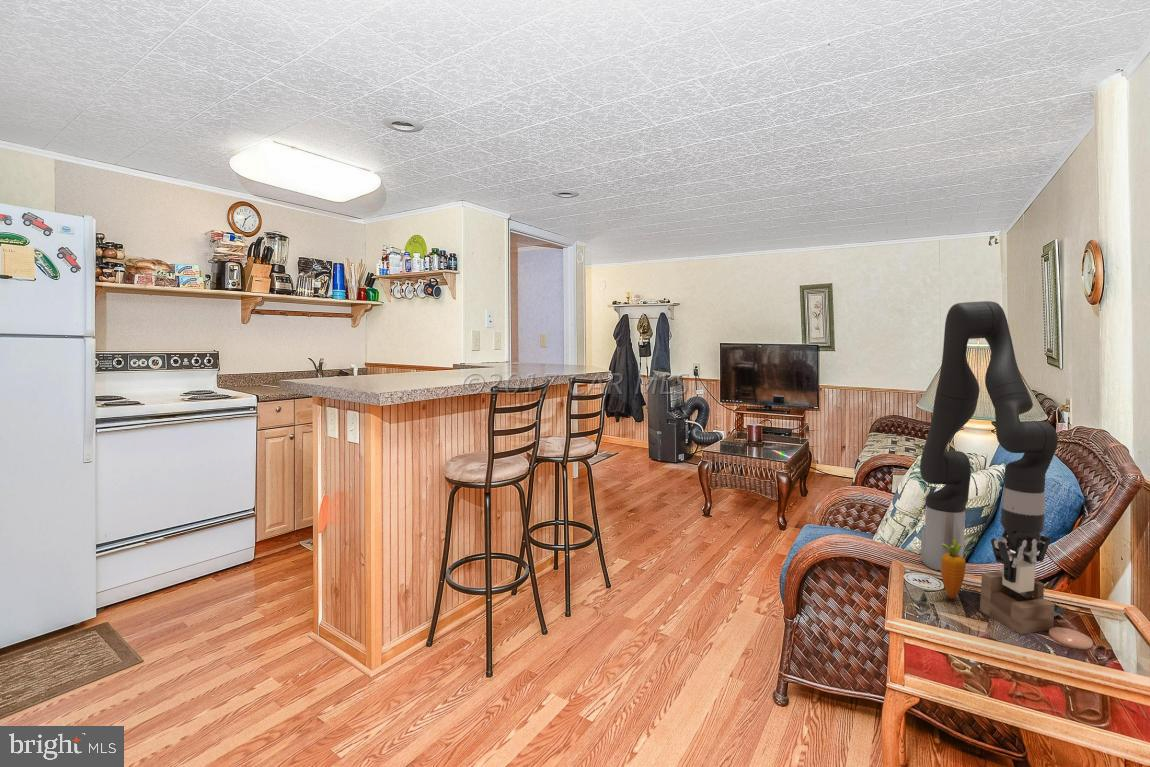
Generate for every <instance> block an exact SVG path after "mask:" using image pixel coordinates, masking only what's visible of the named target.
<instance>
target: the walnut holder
mask: <svg viewBox="0 0 1150 767" xmlns="http://www.w3.org/2000/svg"><path fill="white" fill-rule="evenodd" d="M1002 578H1003V569H1002V570H996V571H995V570H994V571H987V572H981V582H980V585H981V586H980V598H979V599H980V604H979V611H980V610H981V611H982V612H981V611H980V612H981V613H983V614H985V615H987V616H988V617H990V618H992V619H993V620H996V621H997V622H999V623H1001V624H1003V625H1004V626H1006V627H1008V628H1009V629H1011V630H1012V631H1015V633H1016V632H1017V633H1019V634H1020V635H1023V634H1030V633H1037V632H1043V631H1049V629H1050V628H1053V627H1054V618H1055V617H1054V606H1055V604H1056V603H1054V602H1052V601H1050V600H1048V601H1047V599H1046V600H1045V598H1044V592H1045V583H1043V582H1041V581H1039V580H1037V579H1034V591H1028V592H1025V593H1027V594H1029V595H1030V596H1032V597H1033V600H1028V601H1026V599H1024V598H1023V597H1021V596H1020V595H1018V594H1017V593H1015V592H1014V591H1012V590H1010V588H1008V587H1006V586H1004V585H1002ZM1043 598H1044V599H1043Z"/></svg>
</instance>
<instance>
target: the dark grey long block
mask: <svg viewBox="0 0 1150 767" xmlns="http://www.w3.org/2000/svg"><path fill="white" fill-rule="evenodd" d="M1010 590H1012V589H1010ZM1012 591H1014V590H1012ZM1014 592H1015V593H1017V594H1018V595H1020V596H1021V597H1023V598H1024V599H1026V601H1028V600H1033V597H1032V596H1030V595H1029V594H1027V593H1025V592H1020V593H1018V592H1016V591H1014ZM1043 599H1045V598H1044V597H1043ZM1045 600H1047V599H1045ZM1047 601H1049V600H1047ZM1054 604H1055V606H1054V616H1055V617H1054V618H1057V617H1058V615H1060V616H1064V614H1065V613H1066V611H1067V610H1066V609H1064V608H1063V607H1061V606H1060V605H1058V604H1056V603H1054ZM1056 616H1057V617H1056Z"/></svg>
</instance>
